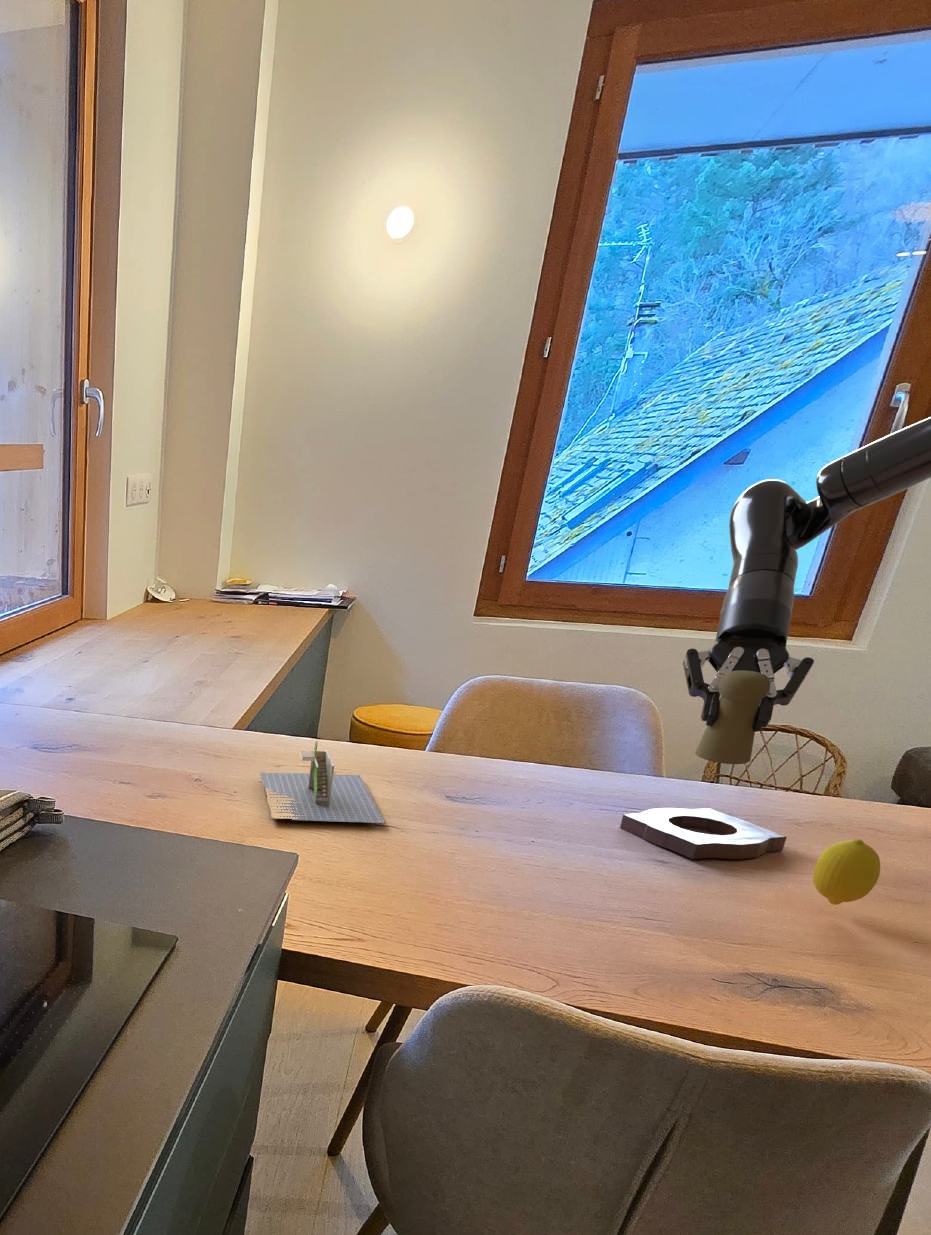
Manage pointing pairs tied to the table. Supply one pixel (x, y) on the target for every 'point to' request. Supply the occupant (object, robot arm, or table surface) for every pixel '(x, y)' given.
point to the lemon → (846, 871)
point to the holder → (728, 843)
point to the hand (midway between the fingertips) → (734, 724)
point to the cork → (734, 718)
